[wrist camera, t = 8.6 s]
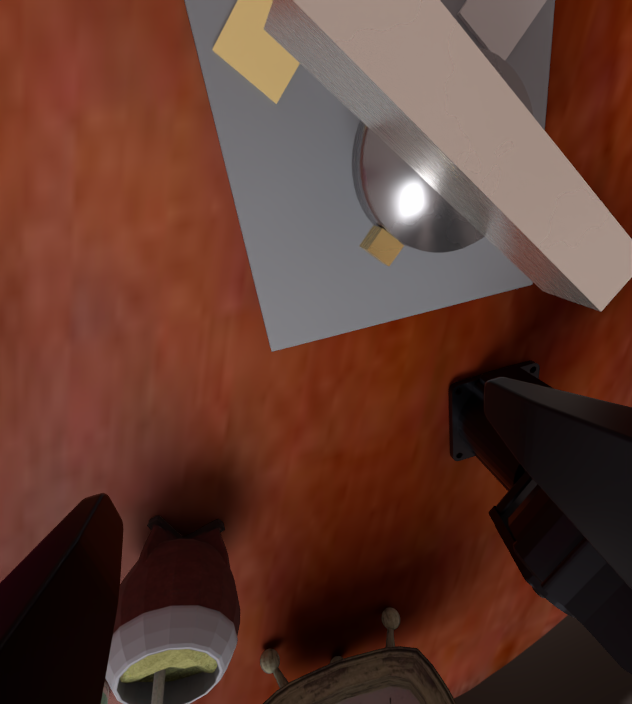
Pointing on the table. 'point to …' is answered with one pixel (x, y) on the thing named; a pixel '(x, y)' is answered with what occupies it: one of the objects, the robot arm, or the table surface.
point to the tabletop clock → (364, 677)
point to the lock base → (337, 174)
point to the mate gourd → (174, 618)
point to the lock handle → (453, 145)
